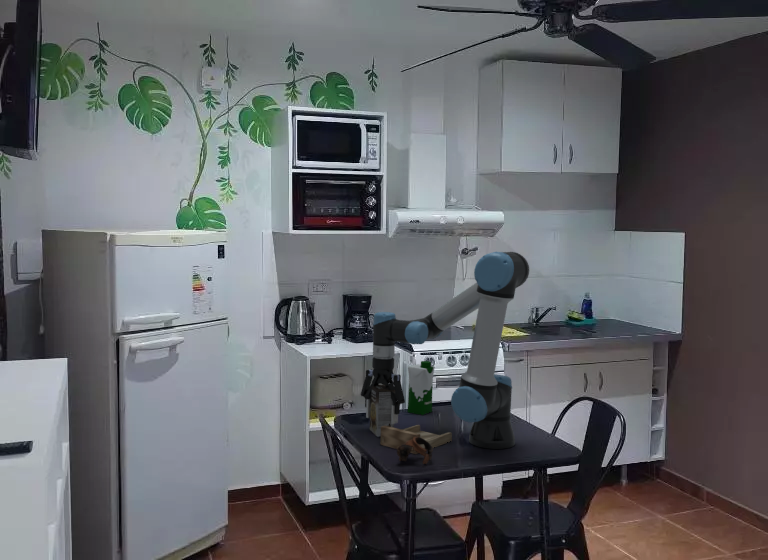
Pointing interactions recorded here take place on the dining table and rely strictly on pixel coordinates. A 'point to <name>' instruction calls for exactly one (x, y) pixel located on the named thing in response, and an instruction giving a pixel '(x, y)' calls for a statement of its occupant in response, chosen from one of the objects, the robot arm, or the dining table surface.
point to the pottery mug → (407, 447)
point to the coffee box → (380, 408)
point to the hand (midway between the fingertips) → (381, 420)
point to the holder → (411, 437)
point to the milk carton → (420, 388)
